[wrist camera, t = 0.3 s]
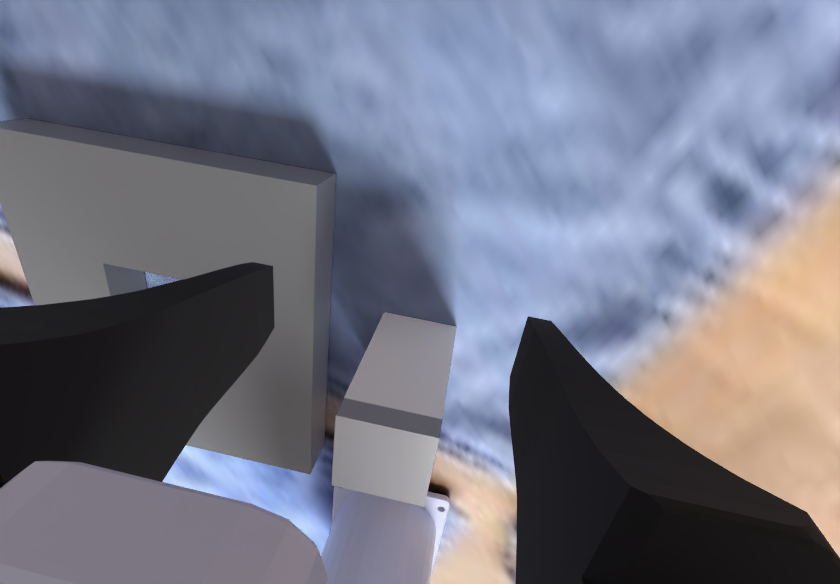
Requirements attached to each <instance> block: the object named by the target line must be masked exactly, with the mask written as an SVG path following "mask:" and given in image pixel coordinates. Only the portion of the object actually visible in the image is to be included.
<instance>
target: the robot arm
mask: <svg viewBox="0 0 840 584" xmlns="http://www.w3.org/2000/svg"><path fill="white" fill-rule="evenodd" d="M274 327H275V324H274V281H273V266H270V265H265V264H260V263H255V262H250V263H243V264H239V265H235V266H231V267H227V268H223V269H219V270H216V271H212V272H209V273H205V274H202V275H198V276H195V277H191V278H187V279H184V280H180V281H176V282H172V283H168V284H164V285H160V286H156V287H152V288H148V289H144V290H139V291H134V292H129V293H124V294H119V295H113V296H107V297H101V298H95V299H88V300H80V301H71V302H63V303H54V304H45V305H35V306H21V307H5V308H0V584H430V578H431V575H432V571H433V567H434V563H435V560H436V556H437V552H438V548H439V544H440V541H441V537H442V533H443V529H444V526H445V522H446V518H447V514H448V510H449V507H450V499H449V498H448V497H447V496H445V495H442V494H437V493H433V492H429V491H428V492H427V496H426V501H425V505H424V507H422V506H418V505H414V504H410V503H405V502H401V501H397V500H393V499H388V498H384V497H380V496H376V495H371V494H367V493H363V492H359V491H354V490H350V489H346V488H342V487H337V486H334V496H333V512H332V527H331V531H330V533H329V536H328V539H327V542H326V544H325V547H324V550H323V553H322V555H321V556H320V553H319V550H318V548H317V546H316V545H315V543H314V542H313V541H312V540H311V539H310V538H308V537H307V536H306V535H305V534H304V533H303V532H302V531H301V530H300V529H298V528H297V527H296V526H295V525H294V524H293V523H292V522H291V521H290V520H289V519H286V518H284V517H282V516H279V515H277V514H274V513H272V512H270V511H267V510H265V509H263V508H260V507H258V506H255V505H253V504H250V503H246V502H242V501H238V500H234V499H230V498H225V497H221V496H217V495H213V494H209V493H205V492H201V491H197V490H193V489H188V488H184V487H180V486H176V485H172V484H168V483H164V482H162V481H163V479H164V478H165V476H166V475H167V473H168V471H169V470H170V468H171V467H172V465H173V464H174V462H175V460H176V459H177V457H178V456H179V454H180V453H181V451H182V450H183V448H184V447H185V445H186V444H187V442H188V441H189V440H190V438H191V437H192V435H193V434H194V432H195V431H196V429H197V428H198V426H199V425H200V424H201V422H202V421H203V420H204V418H205V417H206V416H207V415H208V413H209V412H210V411H211V410H212V408H213V407H214V406H215V405H216V404H217V403H218V401H219V400H220V399H221V398H222V397H223V396H224V394H225V393H226V392H227V391H228V390H229V388H230V387H231V386H232V385H233V384H234V383H235V381H236V380H237V379H238V378H239V377H240V376H241V374H242V373H243V372H244V371H245V370H246V368H247V367H248V366H249V365H250V364H251V362H252V361H253V360H254V359H255V358H256V356H257V355H258V354H259V352H260V351H261V349H262V347H263V346H264V344H265V343H266V341H267V339H268V338H269V336H270V334H271V333H272V331H273V329H274ZM509 416H510V426H511V436H512V446H513V456H514V465H515V475H516V488H517V554H516V584H840V558H839V556H838V555H837V554H836V552H835V551H834V549H833V548H832V547H831V545H830V544H829V542H828V541H827V540H826V538H825V537H824V535H823V534H822V533H821V531H820V530H819V528H818V527H817V526H816V524H815V523H814V521H813V520H812V519H811V517H810V516H809V514H808V513H807V512H805V511H803V510H801V509H800V508H798V507H796V506H794V505H792V504H790V503H788V502H786V501H784V500H782V499H780V498H778V497H776V496H775V495H773V494H771V493H769V492H767V491H765V490H763V489H761V488H759V487H757V486H755V485H753V484H751V483H750V482H748V481H746V480H744V479H742V478H740V477H739V476H737V475H735V474H733V473H732V472H730V471H728V470H727V469H725V468H723V467H722V466H720V465H718V464H717V463H715V462H713V461H711V460H710V459H708V458H706V457H705V456H703V455H702V454H700V453H699V452H697V451H695V450H694V449H692V448H691V447H689V446H688V445H686V444H685V443H683V442H682V441H680V440H679V439H677V438H676V437H675V436H673V435H672V434H670V433H669V432H667V431H666V430H665V429H663V428H662V427H660V426H659V425H658V424H656V423H655V422H654V421H652V420H651V419H650V418H648V417H647V416H646V415H644V414H643V413H642V412H641V411H640V410H638V409H637V408H636V407H635V406H634V405H632V404H631V403H630V402H629V401H627V400H626V399H625V398H624V397H623V396H622V395H621V394H619V393H618V392H617V391H616V390H615V389H614V388H613V387H612V386H611V385H610V384H609V383H608V382H607V381H606V380H605V379H604V378H603V377H602V376H600V375H599V374H598V373H597V371H596V370H595V369H594V368H593V367H592V366H591V365H590V364H589V363H588V362H587V361H586V360H585V359H584V358H583V357H582V355H581V354H580V353H579V352H578V351H577V350H576V349H575V348H574V346H573V345H572V344H571V343H570V342H569V341H568V340H567V338H566V337H565V336H564V335H563V334H562V333H561V331H560V330H559V329H558V328H557V327H556V326H555V325H554V324H553V323H552V322H551V321H548V320H543V319H538V318H533V317H528V318H527V321H526V325H525V328H524V331H523V335H522V338H521V342H520V345H519V348H518V352H517V355H516V358H515V362H514V365H513V368H512V372H511V375H510V388H509Z"/></svg>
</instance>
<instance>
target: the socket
mask: <svg viewBox="0 0 840 584" xmlns="http://www.w3.org/2000/svg"><path fill="white" fill-rule="evenodd" d="M335 193H336V173H330V172H324V171H319V170H313V169H308V168H302V167H296V166H291V165H285V164H280V163H274V162H268V161H263V160H257V159H252V158H246V157H240V156H235V155H229V154H223V153H218V152H212V151H207V150H201V149H195V148H190V147H184V146H179V145H173V144H167V143H162V142H156V141H151V140H145V139H139V138H134V137H128V136H123V135H117V134H111V133H106V132H100V131H95V130H89V129H83V128H78V127H72V126H67V125H61V124H55V123H50V122H44V121H39V120H33V119H18V120H8V121H0V203H1V206H2V209H3V212H4V215H5V217H6V220H7V223H8V226H9V229H10V232H11V235H12V238H13V241H14V244H15V247H16V250H17V253H18V256H19V259H20V262H21V265H22V268H23V271H24V274H25V277H26V280H27V283H28V286H29V289H30V292H31V295H32V298H33V301H34V304H35V305H45V304H54V303H63V302H71V301H80V300H88V299H95V298H101V297H107V296H113V295H119V294H124V293H129V292H134V291H139V290H144V289H147V284H146V279H145V274H144V272H148V273H153V274H158V275H163V276H168V277H173V278H178V279H183V280H184V279H187V278H191V277H195V276H198V275H202V274H205V273H209V272H212V271H216V270H219V269H223V268H227V267H231V266H235V265H239V264H243V263H250V262H255V263H260V264H265V265H270V266H273V281H274V324H275V327H274V329H273V331H272V333H271V334H270V336H269V338H268V339H267V341H266V343H265V344H264V346H263V347H262V349H261V351H260V352H259V354H258V355H257V356H256V358H255V359H254V360H253V361H252V362H251V364H250V365H249V366H248V367H247V368H246V370H245V371H244V372H243V373H242V374H241V376H240V377H239V378H238V379H237V380H236V381H235V383H234V384H233V385H232V386H231V387H230V388H229V390H228V391H227V392H226V393H225V394H224V396H223V397H222V398H221V399H220V400H219V401H218V403H217V404H216V405H215V406H214V407H213V408H212V410H211V411H210V412H209V413H208V415H207V416H206V417H205V418H204V420H203V421H202V422H201V424H200V425H199V426H198V428H197V429H196V431H195V432H194V434H193V435H192V437H191V438H190V440H189V441H188V442H187V444H186V445H188V446H192V447H196V448H201V449H205V450H209V451H213V452H218V453H222V454H226V455H230V456H235V457H239V458H243V459H247V460H252V461H256V462H260V463H264V464H269V465H273V466H277V467H281V468H286V469H290V470H294V471H298V472H303V473H307V474H311V471H312V469H313V467H314V465H315V463H316V461H317V458H318V456H319V454H320V452H321V450H322V448H323V446H324V443H325V420H326V398H327V375H328V352H329V329H330V307H331V284H332V261H333V239H334V216H335Z"/></svg>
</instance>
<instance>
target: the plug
mask: <svg viewBox="0 0 840 584" xmlns="http://www.w3.org/2000/svg"><path fill="white" fill-rule="evenodd" d="M455 333H456V326H451V325H446V324H441V323H436V322H431V321H426V320H421V319H416V318H411V317H406V316H401V315H396V314H391V313H386V312H384V313H383V315H382V318H381V320H380V322H379V324H378V326H377V328H376V330H375V332H374V335H373V337H372V339H371V341H370V343H369V345H368V347H367V350H366V352H365V354H364V356H363V358H362V360H361V362H360V364H359V367H358V369H357V371H356V373H355V375H354V377H353V379H352V382H351V384H350V386H349V388H348V390H347V392H346V394H345V396H344V399H343V401H342V403H341V405H340V407H339V409H338V411H337V413H336V418H335V435H334V451H333V468H332V485H333V486H337V487H342V488H346V489H350V490H354V491H359V492H363V493H367V494H371V495H376V496H380V497H384V498H388V499H393V500H397V501H401V502H405V503H410V504H414V505H418V506H422V507H424V505H425V501H426V496H427V492H428V487H429V483H430V478H431V474H432V469H433V465H434V460H435V455H436V451H437V446H438V442H439V437H440V430H441V424H442V417H443V411H444V405H445V398H446V392H447V385H448V379H449V372H450V366H451V359H452V353H453V346H454V340H455Z"/></svg>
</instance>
